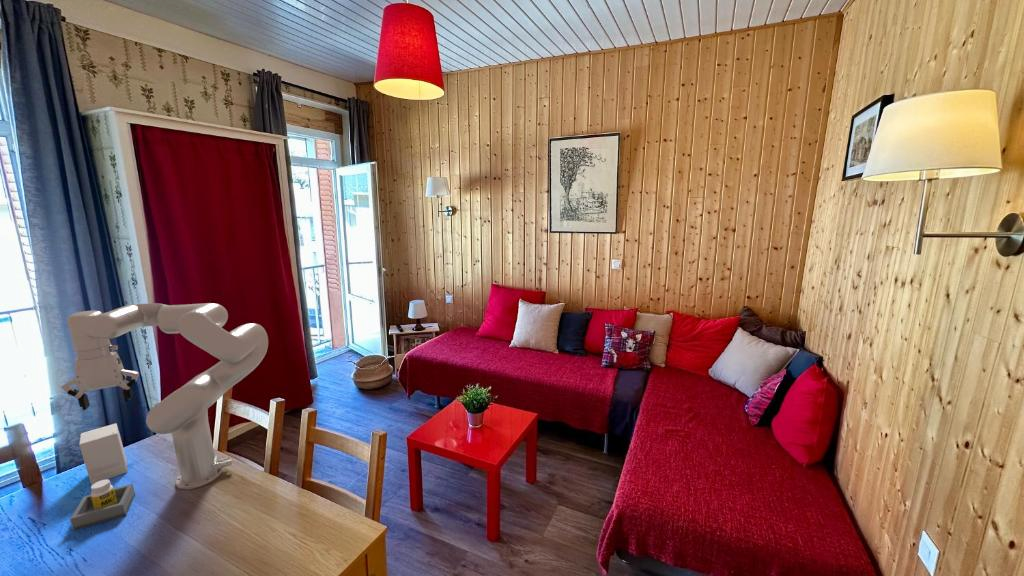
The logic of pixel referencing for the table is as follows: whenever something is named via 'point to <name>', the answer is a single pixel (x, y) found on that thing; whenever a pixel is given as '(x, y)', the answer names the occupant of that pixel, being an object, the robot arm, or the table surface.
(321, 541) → the table surface
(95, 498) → the supplement bottle
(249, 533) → the table surface
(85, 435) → the supplement box
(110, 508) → the bin
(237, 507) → the table surface
